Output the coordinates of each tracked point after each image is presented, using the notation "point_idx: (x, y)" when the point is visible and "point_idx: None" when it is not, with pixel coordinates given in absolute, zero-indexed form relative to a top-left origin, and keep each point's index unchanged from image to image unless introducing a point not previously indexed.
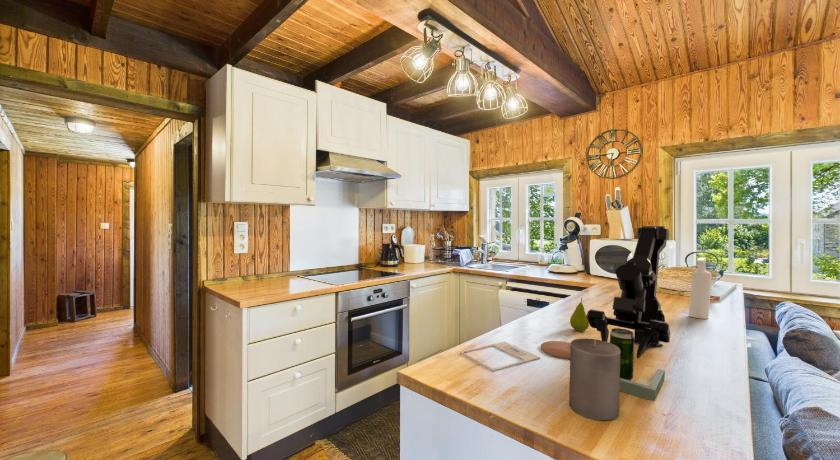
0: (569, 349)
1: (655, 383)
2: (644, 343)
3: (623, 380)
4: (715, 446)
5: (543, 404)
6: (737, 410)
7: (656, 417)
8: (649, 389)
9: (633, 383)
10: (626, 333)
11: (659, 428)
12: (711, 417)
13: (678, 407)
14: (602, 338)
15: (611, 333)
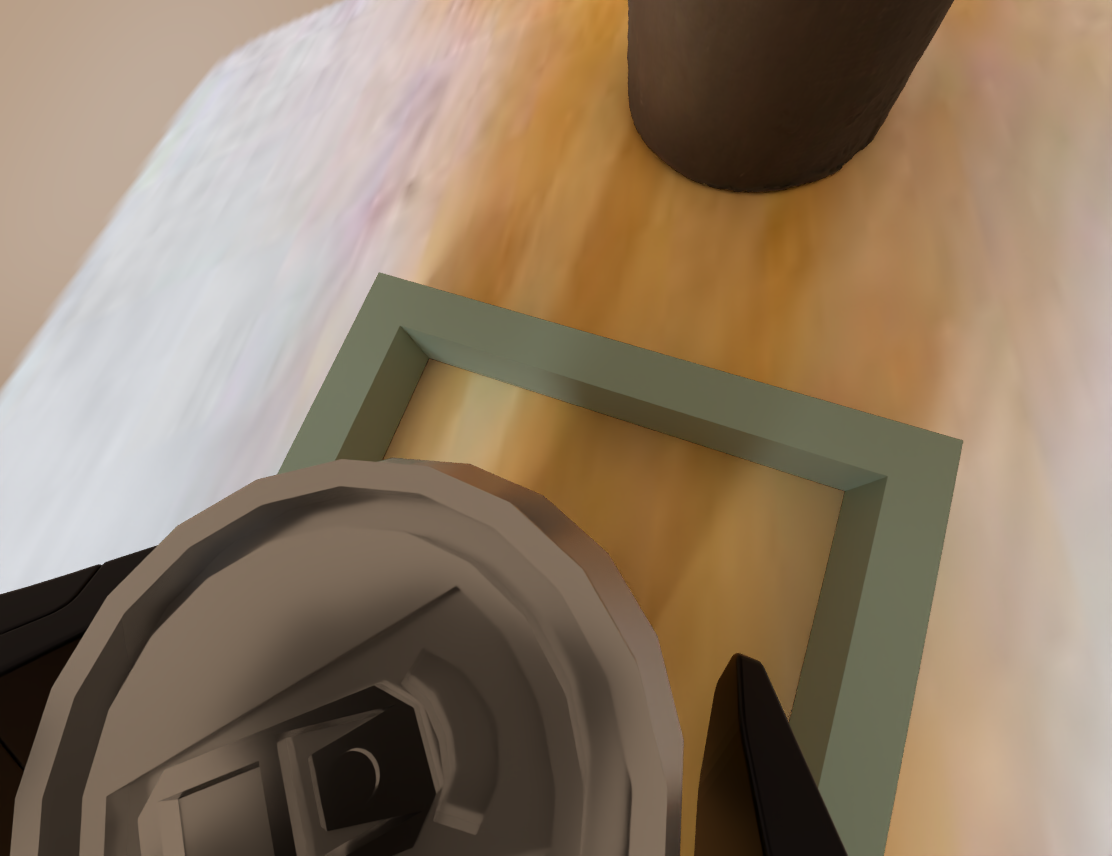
0: None
1: (337, 386)
2: (78, 579)
3: (557, 340)
4: (303, 43)
5: (1020, 13)
6: (19, 394)
7: (454, 147)
8: (409, 281)
9: (494, 317)
10: (259, 572)
11: (469, 65)
12: (194, 260)
13: (306, 296)
14: (821, 841)
15: (658, 692)
